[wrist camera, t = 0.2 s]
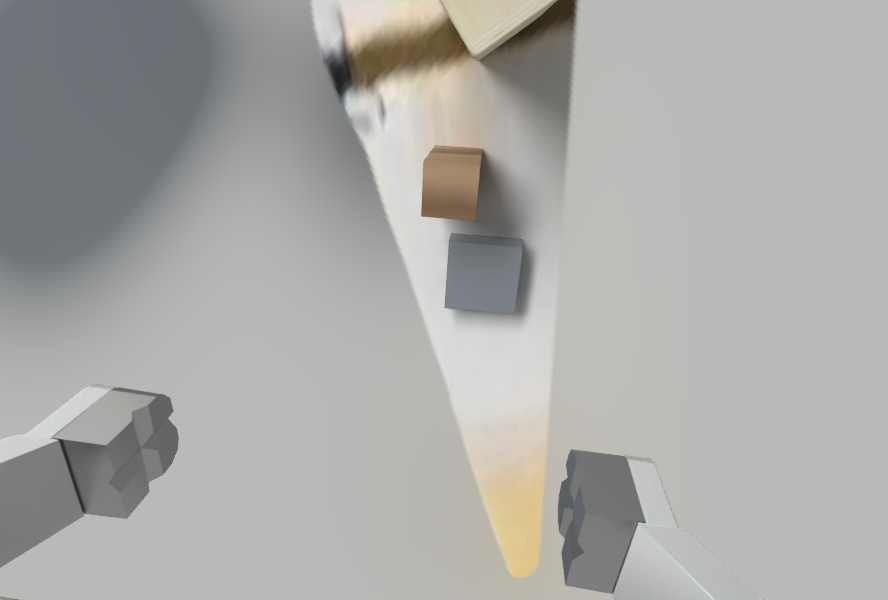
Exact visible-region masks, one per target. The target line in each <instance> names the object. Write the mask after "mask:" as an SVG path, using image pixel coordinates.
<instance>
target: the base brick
mask: <svg viewBox="0 0 888 600" xmlns="http://www.w3.org/2000/svg"><path fill="white" fill-rule="evenodd" d="M522 253H523V244H522V239H513V238H501V237H489V236H477V235H465V234H452V233H451V236H450V240H449V249H448V264H447V280H446V295H445V308H449V309H460V310H471V311H482V312H493V313H504V314H515V307H516V299H517V291H518V284H519V276H520V268H521V261H522Z"/></svg>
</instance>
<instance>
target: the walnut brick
mask: <svg viewBox="0 0 888 600" xmlns="http://www.w3.org/2000/svg"><path fill="white" fill-rule="evenodd" d="M481 159H482V149H478V148H464V147H451V146H437V145H435V146H434V148H433V149H432V151H431V152H430V153H429V155H428V156H427V157H426V159H425V160H424V164H423V189H422V213H421V216H423V217H435V218H447V219H460V220H472V221H475V220H476V211H477V203H478V193H479V182H480V170H481Z"/></svg>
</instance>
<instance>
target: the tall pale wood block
mask: <svg viewBox="0 0 888 600" xmlns="http://www.w3.org/2000/svg"><path fill="white" fill-rule="evenodd" d="M556 1H557V0H440V2H441V4H442V5H443V7H444V9H445V11H446V12H447V14H448V16H449V17H450V19H451V21H452V23H453V24H454V26H455V28H456V29H457V31H458V33H459V34H460V36H461V38H462V40H463V41H464V43H465V45H466V46H467V48H468V50H469V52H470V53H471V55H472V57H473V58H474V59H476V60H477V61H479V60H480V59H482V58H483V57H484V56H486V55H487V54H489V53H490V52H491V51H493V50H494V49H496V48H497V47H498V46H500V45H501V44H503V43H504V42H505V41H507V40H508V39H510V38H511V37H512V36H514V35H515V34H517V33H518V32H519V31H521V30H522V29H524V28H525V27H526V26H528V25H529V24H531V23H532V22H533V21H535V20H536V19H537V18H538V17H540V16H541V15H542V14H543V13H544V12H545V11H546V10H547V9H548V8H549V7H550V6H552V5H553V4H554V3H555V2H556Z"/></svg>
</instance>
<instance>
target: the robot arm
mask: <svg viewBox="0 0 888 600" xmlns="http://www.w3.org/2000/svg"><path fill="white" fill-rule="evenodd" d="M172 412H173V408H172V403H171V400H170V398H169V397H167V396H165V395H163V394H157V393H151V392H144V391H138V390H132V389H126V388H120V387H119V388H116V387H110V386H104V385H97V384H95V385H91V386H87V387H86V388H85V389H83V390H82V391H81V392H79V393H78V394H77V395H75V396H74V397H73V398H72V399H70V400H69V401H68V402H67V403H65V404H64V405H63V406H61V407H60V408H59V409H57V410H56V411H55V412H54V413H52V414H51V415H50V416H49V417H47V418H46V419H45V420H43V421H42V422H41V423H39V424H38V425H37V426H36V427H34V428H33V429H32V430H31V431H29V432H28V433H27V434H25V435H21V434H16V435H13V436H10V437H8V438H5V439H2V440H0V567H2V566H3V565H5V564H7V563H8V562H10V561H12V560H13V559H15V558H16V557H18V556H19V555H21V554H23V553H24V552H26V551H28V550H29V549H31V548H33V547H34V546H36V545H37V544H39V543H41V542H42V541H44V540H45V539H47V538H49V537H50V536H52V535H54V534H55V533H57V532H58V531H60V530H62V529H63V528H65V527H67V526H68V525H70V524H71V523H73V522H75V521H76V520H78V519H79V518H81V517H83V515H84V514H92V515H100V516H108V517H116V518H126V519H127V518H128V517H129V516H130V514H131V513H132V512H133V511H134V510H135V508H136V507H137V505H139V503H140V502H141V501H142V500H143V499H144V497H145V496H146V495H147V494H148V492H149V482H150V481H152V480H153V479H156V478H158V477H159V476H161V475H163V474H164V473H165V472H166V470H167V469H168V468H169V466H170V465H171V464H172V462H173V460H174V457H175V455H176V452H177V450H178V432H177V428H176V427H175V426H174V425H173V424H172V423H171V422H170V420H169V419H168V418H169V416H170V415H171V414H172ZM566 467H567V475H568V478H567V479H566V480H564V481H563V482H562V484H561V489H560V493H559V502H558V525H559V532H560V533H561V535H562V536H563V537H564V538H565V541H564V545H563V549H562V560H563V569H564V577H565V585H567V586H572V587H577V588H583V589H589V590H594V591H599V592H605V593H611V594H613V598H614V599H615V600H763V599H762V598H761V597H760V596H759V595H757V593H755V592H754V591H753V590H752V589H751V588H750V587H749V586H748V585H747V584H746V583H745V582H743V581H742V580H741V579H740V578H739V577H738V576H737V575H736V574H735V573H734V572H733V571H732V570H731V569H729V568H728V567H727V566H726V565H725V564H724V563H723V562H722V561H721V560H720V559H719V558H717V557H716V556H715V555H714V554H713V553H712V552H711V551H710V550H709V549H708V548H706V547H705V546H704V545H703V544H702V543H701V542H700V541H699V540H698V539H697V538H696V537H695V536H694V535H692V534H691V533H690V532H689V531H688V530H687V529H680V528H678V525H677V522H676V520H675V517H674V514H673V512H672V509H671V506H670V504H669V501H668V498H667V496H666V493H665V490H664V488H663V485H662V482H661V480H660V477H659V474H658V472H657V469H656V466H655V464H654V462H653V461H652V460H651V459H648V458H639V457H631V456H618V455H611V454H603V453H595V452H587V451H579V450H571V451H570V453H569V455H568V459H567V463H566ZM0 600H18V599H11V598H5V597H0Z"/></svg>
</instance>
